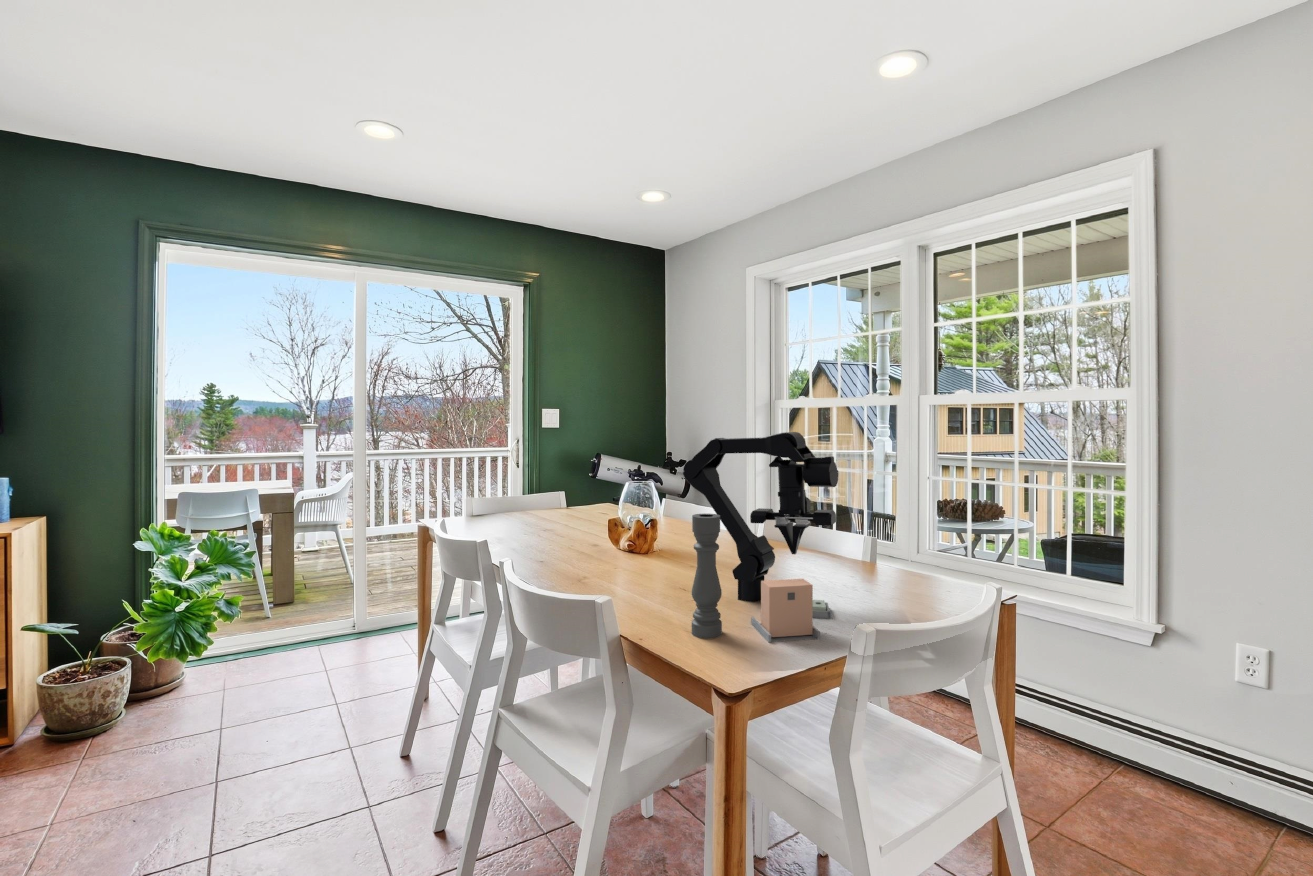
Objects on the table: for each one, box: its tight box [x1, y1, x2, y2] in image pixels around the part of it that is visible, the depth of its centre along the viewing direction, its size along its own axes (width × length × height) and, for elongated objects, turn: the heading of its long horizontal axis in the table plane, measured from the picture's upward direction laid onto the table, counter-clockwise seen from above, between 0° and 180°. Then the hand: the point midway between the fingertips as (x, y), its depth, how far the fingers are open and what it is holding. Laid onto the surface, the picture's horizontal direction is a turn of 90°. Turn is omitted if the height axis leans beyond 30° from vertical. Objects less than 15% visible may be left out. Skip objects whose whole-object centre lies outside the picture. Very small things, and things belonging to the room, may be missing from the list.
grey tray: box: [750, 616, 821, 643], centre depth 131 cm, size 11×11×2 cm
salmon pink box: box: [760, 578, 814, 637], centre depth 129 cm, size 5×9×10 cm, turn 100°
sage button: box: [813, 599, 826, 611], centre depth 143 cm, size 5×5×2 cm
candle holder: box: [691, 513, 723, 640], centre depth 129 cm, size 6×6×25 cm
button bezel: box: [813, 602, 834, 620], centre depth 143 cm, size 8×8×2 cm
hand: (794, 554), depth 147 cm, fingers closed
